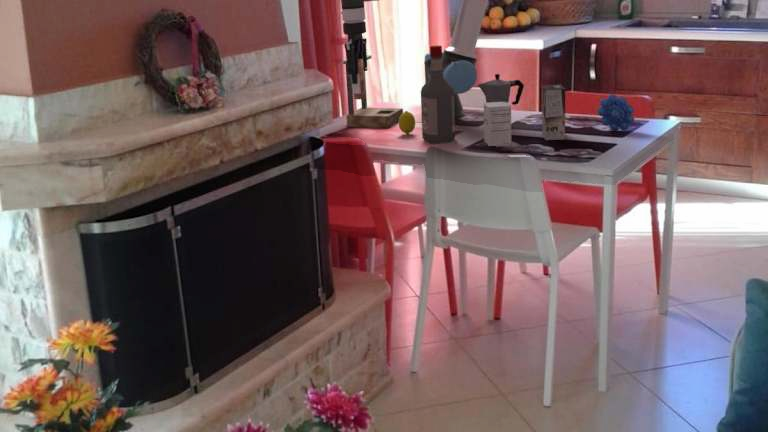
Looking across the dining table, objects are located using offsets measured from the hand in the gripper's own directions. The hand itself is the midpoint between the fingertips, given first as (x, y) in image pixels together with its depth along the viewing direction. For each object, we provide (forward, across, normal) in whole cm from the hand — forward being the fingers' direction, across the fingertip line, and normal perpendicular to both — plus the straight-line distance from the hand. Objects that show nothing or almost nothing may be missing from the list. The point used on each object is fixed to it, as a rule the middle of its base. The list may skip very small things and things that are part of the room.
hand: (359, 91), depth 300 cm
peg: (+2, 0, 0) cm, 2 cm away
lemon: (+15, 0, +16) cm, 22 cm away
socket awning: (+14, -16, 0) cm, 21 cm away
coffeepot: (+15, -16, +44) cm, 49 cm away
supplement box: (+15, +8, +49) cm, 52 cm away
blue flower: (+16, -14, +82) cm, 85 cm away
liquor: (+15, +6, +30) cm, 34 cm away
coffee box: (+15, -4, +64) cm, 66 cm away
